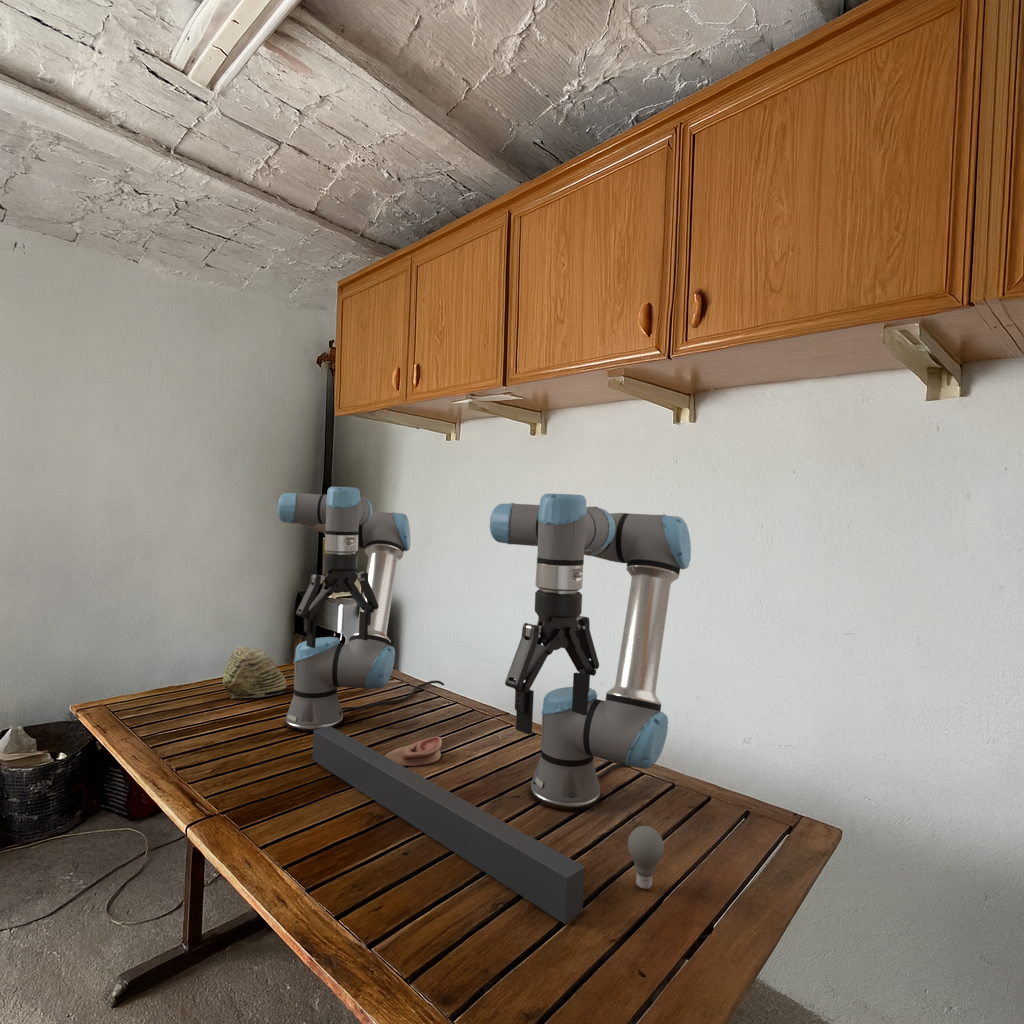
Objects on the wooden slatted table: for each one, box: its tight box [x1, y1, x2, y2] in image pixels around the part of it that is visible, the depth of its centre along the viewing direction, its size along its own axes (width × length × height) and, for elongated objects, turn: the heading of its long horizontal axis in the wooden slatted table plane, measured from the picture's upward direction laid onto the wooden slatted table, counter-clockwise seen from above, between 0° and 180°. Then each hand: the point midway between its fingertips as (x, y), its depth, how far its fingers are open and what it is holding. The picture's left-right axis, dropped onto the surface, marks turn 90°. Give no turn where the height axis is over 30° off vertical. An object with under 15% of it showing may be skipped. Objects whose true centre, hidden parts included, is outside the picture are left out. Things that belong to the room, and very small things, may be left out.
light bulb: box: [627, 825, 665, 890], centre depth 107 cm, size 6×6×10 cm
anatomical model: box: [384, 736, 443, 767], centre depth 156 cm, size 13×4×12 cm
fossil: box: [222, 646, 288, 699], centre depth 198 cm, size 9×18×15 cm, turn 132°
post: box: [311, 726, 586, 925], centre depth 126 cm, size 79×4×7 cm, turn 46°
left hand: (337, 643), depth 149 cm, fingers open, 13 cm apart
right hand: (552, 722), depth 102 cm, fingers open, 13 cm apart
